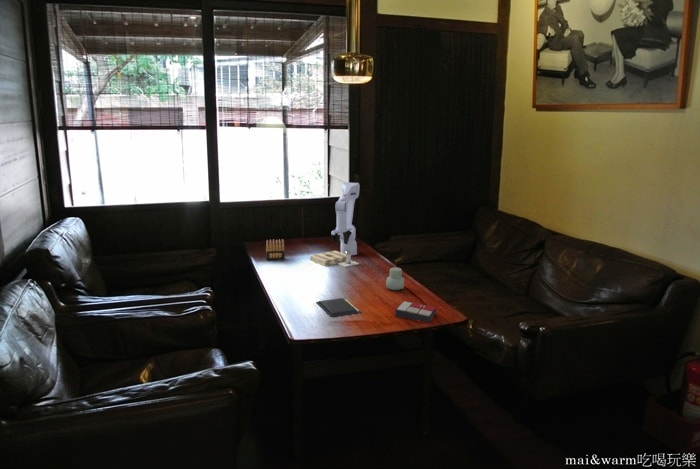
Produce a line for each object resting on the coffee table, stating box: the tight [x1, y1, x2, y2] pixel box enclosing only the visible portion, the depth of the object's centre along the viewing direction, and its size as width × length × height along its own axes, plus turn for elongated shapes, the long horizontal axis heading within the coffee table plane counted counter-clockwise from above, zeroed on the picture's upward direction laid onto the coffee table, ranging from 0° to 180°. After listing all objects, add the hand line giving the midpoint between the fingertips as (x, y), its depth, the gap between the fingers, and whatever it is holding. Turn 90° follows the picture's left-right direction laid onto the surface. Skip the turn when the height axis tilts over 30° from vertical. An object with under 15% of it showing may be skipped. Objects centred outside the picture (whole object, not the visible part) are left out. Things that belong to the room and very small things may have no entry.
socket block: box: [309, 250, 346, 267], centre depth 309 cm, size 18×14×3 cm
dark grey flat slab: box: [315, 297, 363, 318], centre depth 237 cm, size 20×2×15 cm
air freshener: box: [385, 267, 405, 291], centre depth 262 cm, size 11×8×10 cm
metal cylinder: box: [345, 251, 352, 264], centre depth 302 cm, size 3×3×7 cm
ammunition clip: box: [265, 238, 286, 261], centre depth 309 cm, size 11×2×12 cm, turn 102°
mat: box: [337, 259, 360, 268], centre depth 302 cm, size 10×7×1 cm
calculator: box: [394, 301, 437, 323], centre depth 229 cm, size 11×4×15 cm
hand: (341, 245), depth 307 cm, fingers open, 7 cm apart
